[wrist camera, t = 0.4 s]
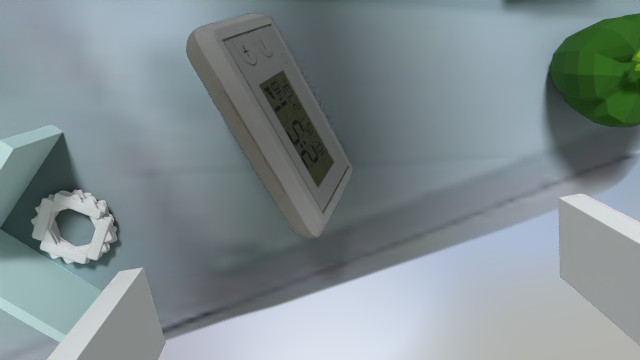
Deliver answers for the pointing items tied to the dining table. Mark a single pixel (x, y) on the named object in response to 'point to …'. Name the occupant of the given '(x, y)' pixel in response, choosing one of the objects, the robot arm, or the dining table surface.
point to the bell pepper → (602, 71)
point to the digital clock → (273, 117)
